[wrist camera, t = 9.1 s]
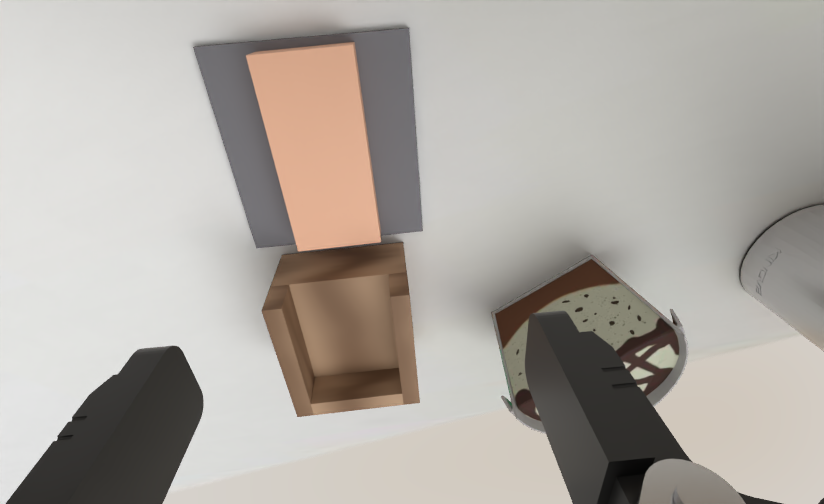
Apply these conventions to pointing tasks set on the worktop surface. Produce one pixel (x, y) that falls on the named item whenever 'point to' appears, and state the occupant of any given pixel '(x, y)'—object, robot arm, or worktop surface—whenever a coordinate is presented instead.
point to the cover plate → (319, 142)
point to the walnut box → (344, 329)
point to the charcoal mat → (384, 114)
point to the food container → (604, 315)
